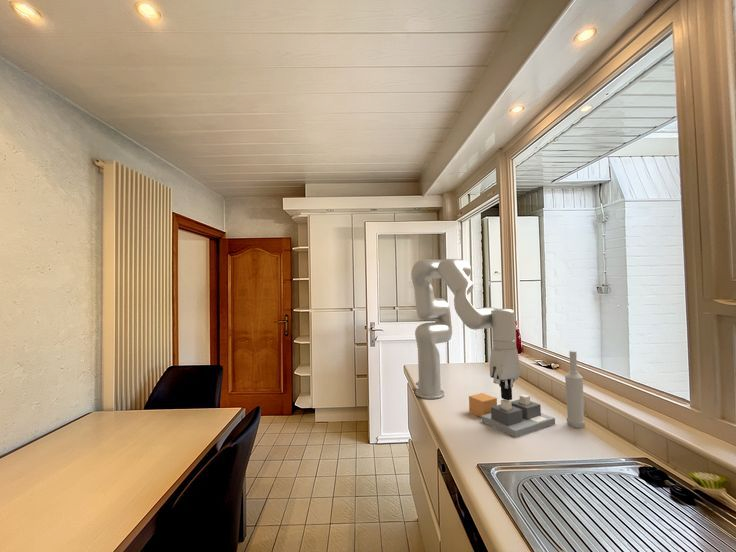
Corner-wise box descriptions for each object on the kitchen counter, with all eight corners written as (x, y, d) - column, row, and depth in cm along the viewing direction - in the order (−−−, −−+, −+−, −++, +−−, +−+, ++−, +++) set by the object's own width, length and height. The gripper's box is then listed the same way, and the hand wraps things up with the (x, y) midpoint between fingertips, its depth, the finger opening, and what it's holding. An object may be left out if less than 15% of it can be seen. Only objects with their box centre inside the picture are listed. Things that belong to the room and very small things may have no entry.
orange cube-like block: (469, 412, 124) (468, 396, 124) (482, 408, 127) (482, 393, 128) (483, 418, 118) (483, 401, 118) (497, 414, 121) (496, 398, 121)
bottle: (585, 429, 107) (582, 353, 108) (566, 426, 110) (563, 352, 111) (584, 423, 112) (581, 350, 112) (567, 420, 115) (564, 349, 115)
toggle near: (501, 411, 112) (500, 400, 112) (506, 410, 113) (505, 399, 113) (507, 414, 110) (506, 402, 110) (511, 412, 111) (511, 401, 111)
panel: (481, 421, 116) (481, 404, 116) (519, 410, 125) (519, 394, 125) (515, 437, 103) (514, 418, 103) (555, 423, 112) (554, 406, 112)
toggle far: (519, 406, 116) (519, 395, 116) (524, 405, 117) (523, 394, 118) (525, 408, 114) (525, 397, 114) (530, 407, 115) (529, 396, 115)
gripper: (510, 341, 119) (512, 392, 118) (480, 345, 112) (482, 399, 111) (528, 344, 112) (531, 398, 112) (497, 349, 105) (500, 406, 105)
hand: (506, 398), depth 111 cm, fingers closed
